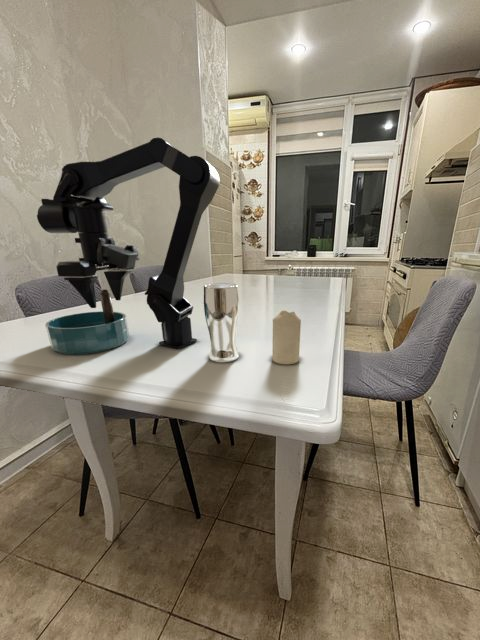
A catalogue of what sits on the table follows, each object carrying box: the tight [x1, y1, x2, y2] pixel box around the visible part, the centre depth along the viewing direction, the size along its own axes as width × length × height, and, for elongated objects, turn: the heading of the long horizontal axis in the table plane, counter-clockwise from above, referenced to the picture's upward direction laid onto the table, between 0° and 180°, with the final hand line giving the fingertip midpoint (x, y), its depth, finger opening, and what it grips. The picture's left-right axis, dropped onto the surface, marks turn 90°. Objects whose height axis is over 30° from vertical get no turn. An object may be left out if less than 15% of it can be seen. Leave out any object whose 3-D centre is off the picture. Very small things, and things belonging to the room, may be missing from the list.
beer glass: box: [203, 282, 240, 363], centre depth 59 cm, size 7×7×15 cm
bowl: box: [45, 310, 130, 355], centre depth 69 cm, size 16×16×6 cm
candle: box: [271, 310, 302, 365], centre depth 58 cm, size 6×6×10 cm
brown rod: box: [99, 288, 115, 324], centre depth 70 cm, size 3×3×12 cm
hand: (106, 303), depth 69 cm, fingers open, 9 cm apart
